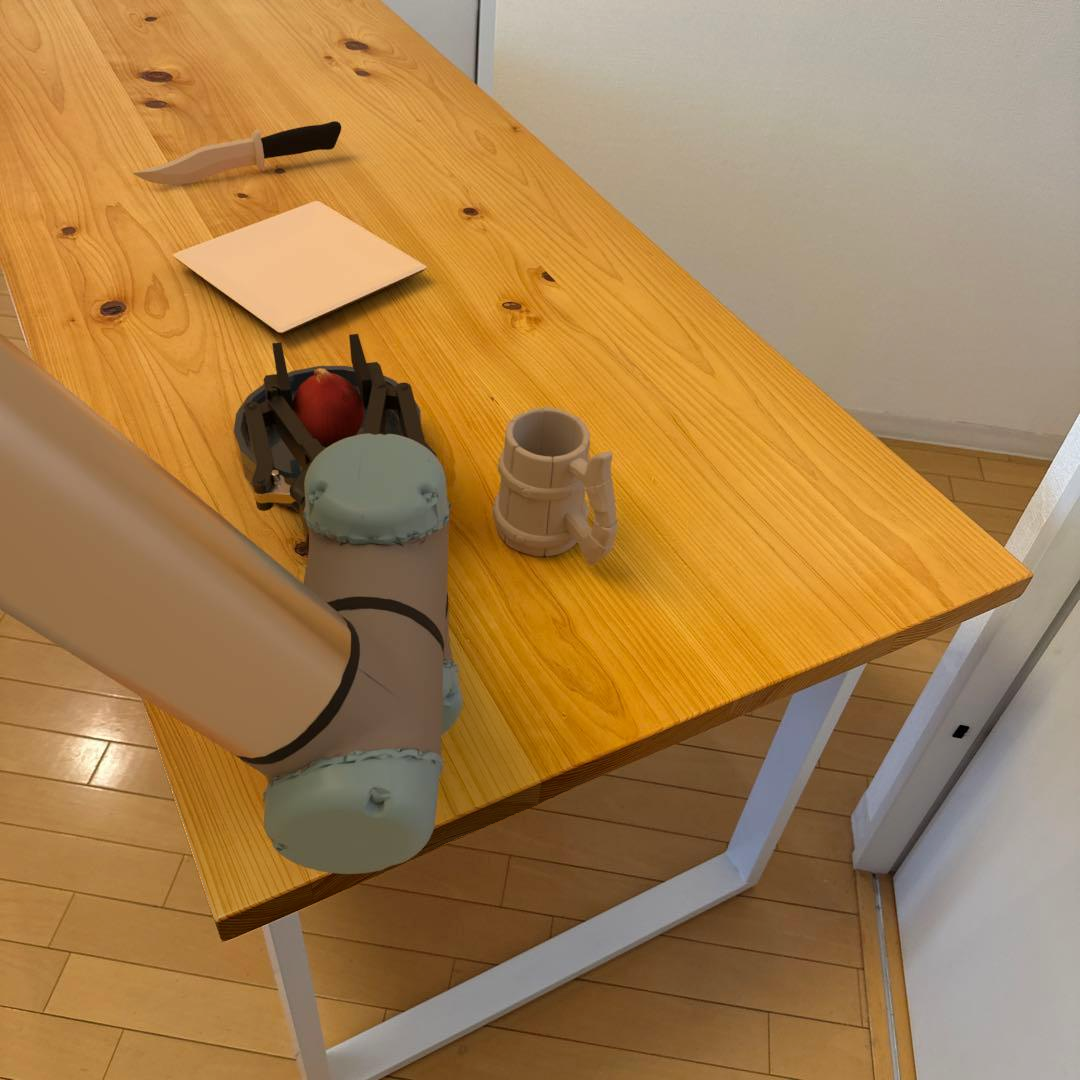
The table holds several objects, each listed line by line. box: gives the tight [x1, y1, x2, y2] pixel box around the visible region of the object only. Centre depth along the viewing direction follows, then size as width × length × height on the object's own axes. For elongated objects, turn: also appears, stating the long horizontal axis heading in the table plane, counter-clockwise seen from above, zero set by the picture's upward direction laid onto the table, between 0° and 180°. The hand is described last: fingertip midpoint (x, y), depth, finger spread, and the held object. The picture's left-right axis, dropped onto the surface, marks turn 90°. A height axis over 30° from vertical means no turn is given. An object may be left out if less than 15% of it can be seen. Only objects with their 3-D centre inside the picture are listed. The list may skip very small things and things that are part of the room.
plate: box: [172, 200, 427, 335], centre depth 105 cm, size 19×19×2 cm
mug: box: [492, 406, 619, 566], centre depth 77 cm, size 8×12×12 cm, turn 40°
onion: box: [293, 368, 364, 448], centre depth 83 cm, size 6×6×8 cm
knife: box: [132, 120, 342, 186], centre depth 119 cm, size 25×2×5 cm, turn 118°
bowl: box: [233, 365, 422, 508], centre depth 85 cm, size 15×15×4 cm
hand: (317, 352), depth 85 cm, fingers closed on onion, 6 cm apart
